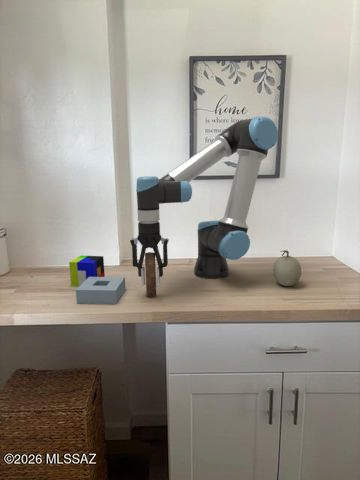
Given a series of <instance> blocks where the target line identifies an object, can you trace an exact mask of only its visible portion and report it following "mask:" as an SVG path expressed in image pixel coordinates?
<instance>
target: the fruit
mask: <svg viewBox="0 0 360 480" xmlns="http://www.w3.org/2000/svg"><path fill="white" fill-rule="evenodd" d="M280 252H283V253H282V254H281V256H280V257H278V258H277V259H276V260H275V261H274V264H273V268H272V273H273V277H274V279H275V281H276V282H277V283H278V284H279V285H282V286H284V287H292V286H295V285H296V284H298V282H299V281H300V279H301V278H302V266H301V263H300V261H299V260H298V259H297V258H295V257H294V256H290V252H289V251H288V250H287V249H286V250H280ZM285 254H286V255H285Z"/></svg>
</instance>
